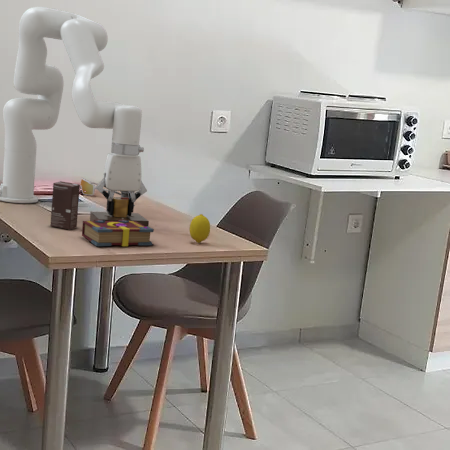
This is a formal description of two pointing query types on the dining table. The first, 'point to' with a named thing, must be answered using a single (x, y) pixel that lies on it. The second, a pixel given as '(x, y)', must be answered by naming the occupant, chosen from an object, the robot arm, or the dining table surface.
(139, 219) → the lock plate
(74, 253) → the dining table surface
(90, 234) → the decorative book
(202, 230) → the lemon
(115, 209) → the lock knob
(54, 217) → the box
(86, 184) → the sunglasses
